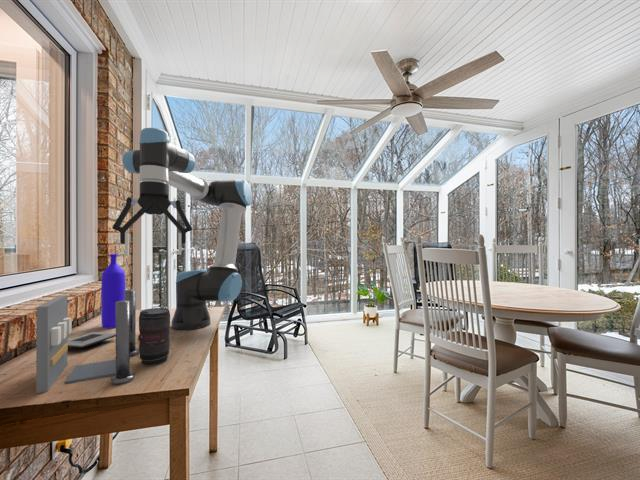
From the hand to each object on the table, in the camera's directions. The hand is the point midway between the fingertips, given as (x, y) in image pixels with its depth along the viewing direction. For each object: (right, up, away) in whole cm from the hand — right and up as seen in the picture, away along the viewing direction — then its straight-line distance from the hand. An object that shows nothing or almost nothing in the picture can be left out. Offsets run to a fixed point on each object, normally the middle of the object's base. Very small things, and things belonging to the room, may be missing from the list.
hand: (154, 255), depth 89 cm
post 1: (-1, -31, -12) cm, 33 cm away
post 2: (-11, -31, +6) cm, 34 cm away
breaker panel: (-20, -31, -11) cm, 39 cm away
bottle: (-38, -32, +38) cm, 62 cm away
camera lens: (0, -31, 0) cm, 31 cm away
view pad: (-12, -31, -6) cm, 34 cm away
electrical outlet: (-26, -31, +13) cm, 43 cm away
